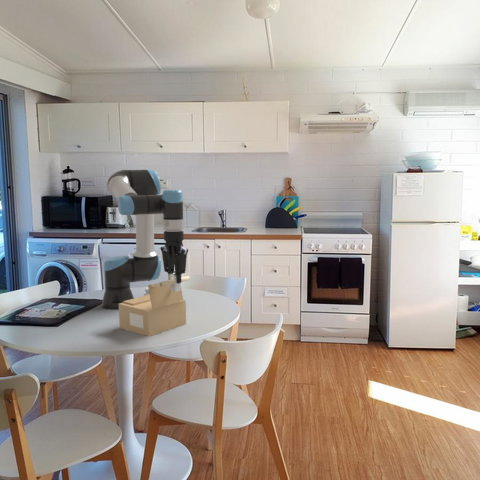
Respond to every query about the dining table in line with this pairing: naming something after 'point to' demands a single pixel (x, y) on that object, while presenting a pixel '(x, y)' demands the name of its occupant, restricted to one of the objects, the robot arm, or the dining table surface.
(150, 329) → the carton
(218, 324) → the dining table surface
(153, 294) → the flap
